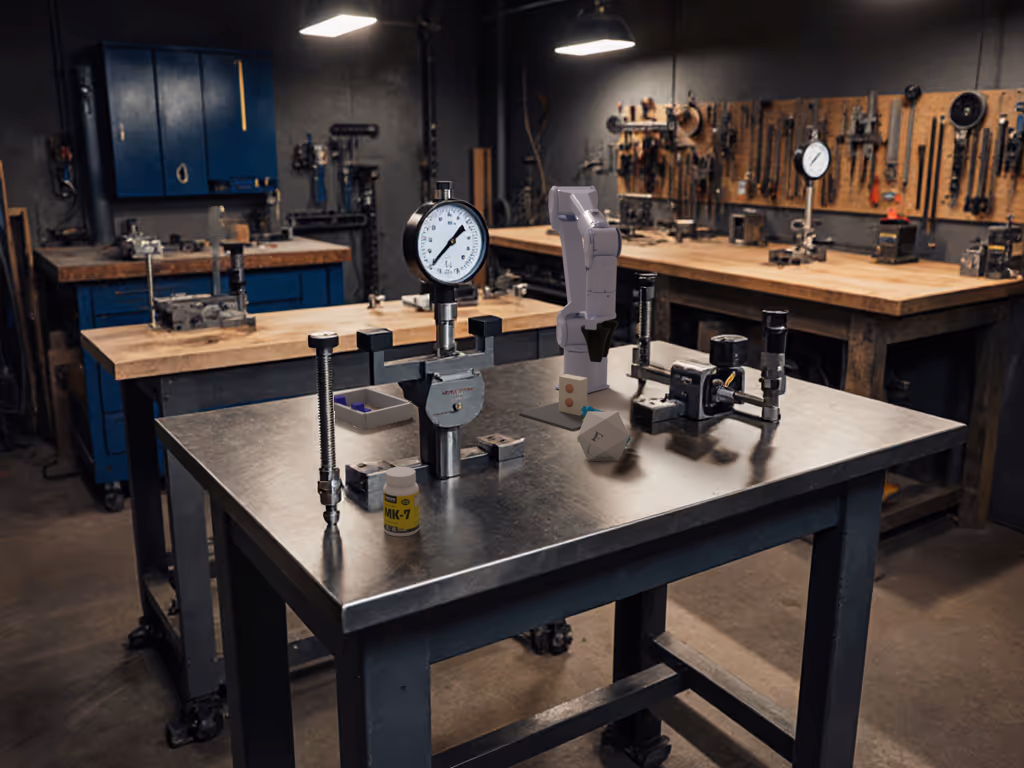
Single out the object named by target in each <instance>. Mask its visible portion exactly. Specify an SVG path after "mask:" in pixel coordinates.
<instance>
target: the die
mask: <svg viewBox="0 0 1024 768" xmlns="http://www.w3.org/2000/svg"><path fill="white" fill-rule="evenodd" d="M629 435H630V433H629V431H628V429H627V428H626V425H625V423H624V421H623V419H622V417H621V415H620V413H619V411H606V412H591V411H588V412H587V414H586V416H585V419H584V421H583V424H582V426H581V428H580V429H579V432H578V434H577V438H578V439H577V440H578V442H579V443H580V447H581V449H582V451H583V454H584V455H585V458H586V460H587V462H619V460H620V458H621V456H622V454H623V451H624V449H625V446H626V445H627V443H626V442H627V440H628V438H629Z"/></svg>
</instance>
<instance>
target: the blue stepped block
mask: <svg viewBox="0 0 1024 768" xmlns="http://www.w3.org/2000/svg"><path fill="white" fill-rule="evenodd" d="M334 402H336V403H339V404H342V405H344V406H347V404H346V400H345V397H344V396H342V395H340V396H335V397H334ZM347 407H348V406H347ZM350 408H352V409H355V410H358V411H361V412H363V413H366V412H370V411H372V409H370V408H368V407H365V403H361V402H358V403H353V404H351V407H350Z"/></svg>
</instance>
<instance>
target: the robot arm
mask: <svg viewBox="0 0 1024 768" xmlns="http://www.w3.org/2000/svg"><path fill="white" fill-rule="evenodd" d="M598 205H599V195H598V190H597V189H596V187H595V186H594V185H590V186H557V185H552V187H551V188H550V189H549V192H548V215H549V223H550V226H551V229H552V230H554V231H555V232H557V233H558V236H559V240H560V245H561V253H562V263H563V273H564V280H565V281H564V282H565V289H566V290H565V291H566V298H567V299H566V300H567V304H566V305H565V306H564V307H562V308H561V309H560V310H559V311H558V312H557V315H556V328H555V330H556V331H555V333H556V341H557V344H558V345H559V347H560V348H563V374H562V375H565V374H569V375H574V376H580V377H585V378H588V384H587V394H589V393H593V392H597V391H602V390H605V389H608V388H610V387H611V385H610V384H607V383H608V360H609V359H608V355H609V352H610V348H611V343H612V340H613V336H614V335H615V334H614V333H615V332H616V329H617V327H618V325H619V324H620V323H619V320H615V319H616V318H617V313H616V294H617V271H618V269H617V268H618V267H617V266H618V265H617V264H618V258H620V256H621V254H622V248H623V247H622V246H623V237H622V233H621V229H620V228H619V227H618V226H611V225H610V223H609V222H608V220H607V218H606V217H605V215H604V213H602V212H601V211H600V210H599V209H598ZM554 388H555V389H558V390H559V384H556V385H554Z"/></svg>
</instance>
